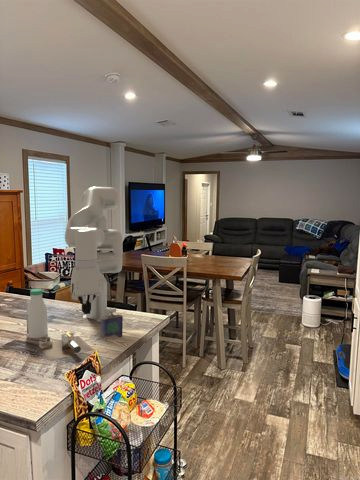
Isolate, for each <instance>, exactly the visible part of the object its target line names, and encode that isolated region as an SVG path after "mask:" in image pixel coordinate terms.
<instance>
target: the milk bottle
mask: <svg viewBox="0 0 360 480" xmlns="http://www.w3.org/2000/svg"><path fill="white" fill-rule="evenodd" d="M29 294H30V295H29V296H30V299H29V302H28V305H27V308H26V336H27V338H29V339H39V338H41V339H42V338H44V337H46V336H47V335H48V331H49V330H48V309H47V308H48V307H47V305H46V303H45V301H44V299H43V289H42V288H33V289H31V290H30V291H29Z"/></svg>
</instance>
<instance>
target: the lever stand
mask: <svg viewBox="0 0 360 480" xmlns="http://www.w3.org/2000/svg"><path fill="white" fill-rule="evenodd" d="M74 342H75V343H76V344H77V345H78V346H80V348H81V351H80V352H79V353H75V352H74V351H73V350H72V349H71V348H69V349H64V348H62V339H59V340H54V341H53V340H52V338H51V337H50V336H47V338H46V339H43V340H39V341H38V343H39V344H37V345H36V346H37V347H38V348H39V350H40V351H41V352H42V353H43V355H44V356H45V357H46V358H47V359H48V361H49V362H50V361H54V360H58V359H63V358H65V357H66V358H67V357H70V356H75V355H78V354H81V353H85V352H86V353H87V352H89V351H94V349H93V347H92V346H90V345H89V344H88V343H87V342H86V341H85V340H84V339H83V338H81V337H80V336H78V335H76V336H74Z"/></svg>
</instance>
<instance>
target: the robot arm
mask: <svg viewBox="0 0 360 480" xmlns="http://www.w3.org/2000/svg"><path fill="white" fill-rule="evenodd" d="M81 201H82V207H81V209H80V210H78V211H76V212H75V213H74V214H73V215H70V217H69V219H68V220H67V222H66V223H67V224H66V226H65V227H66V228H65V233H64V240H65V243H66V245H67V246H68V247H71V248H73V247H74V252H75V255H74V256H75V261H74V263H75V266H74V267H73V268H72V271H71V276H70V277H71V278H70V279H71V280H70V293H71V299H72V300H75V301H79V302H80V303H81V312H82V313H83V315H82V319H87V318H88V319H89V320H94V321H95V322H97V323H99V324H101V318H104V317H109V315H110V312H112V313H116V312H117V308H116V307H113V308H112V307H108V306H107V305H108V304H107V303H108V283H107V280H106V278H105V275H103V274H111V273H112V274H116V273H117V274H118V273H120V272H121V271H122V269H123V253H124V251H123V248H124V247H123V242H124V241H123V234H122V232H121V231H120V230H119V229H110V228H109V229H108V228H107V227H108V226H107V224H108V222H107V219H108V218H107V217H106V216H105V214H104V210H118V209H119V208H120V206H121V194H120V192H119V190H118V189H117V188H115V187H114V186H91V187H89V188H87V189H86V190H85V191H84V192H82V195H81ZM98 250H111V251H98Z"/></svg>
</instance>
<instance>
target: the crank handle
mask: <svg viewBox="0 0 360 480" xmlns="http://www.w3.org/2000/svg"><path fill="white" fill-rule="evenodd" d="M74 337H75V334H74V333H73V332H64V333H62V334H61V339H60V340H62V348H64V349H69V348H71V349H72V350H73V351H74V352H75V353H78V354H80V353H79V352H80V351H81V348H80V346H78V345H77V344H76V343H75V342H74Z"/></svg>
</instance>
